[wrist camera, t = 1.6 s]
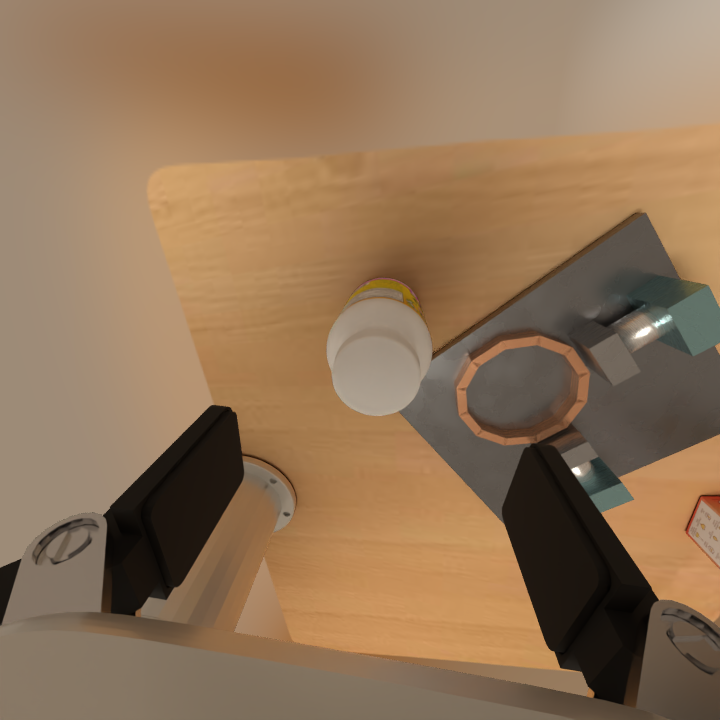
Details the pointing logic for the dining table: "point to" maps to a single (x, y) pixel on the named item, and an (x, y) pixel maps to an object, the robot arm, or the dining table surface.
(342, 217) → the dining table surface
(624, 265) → the base
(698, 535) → the cracker box
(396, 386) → the supplement bottle
